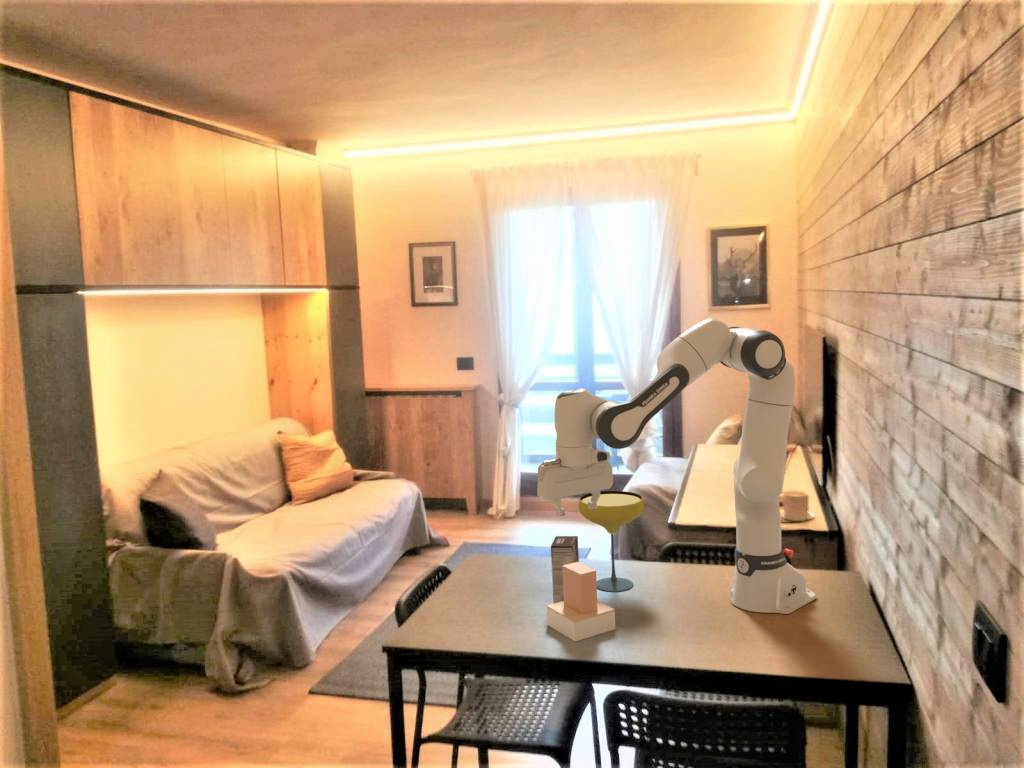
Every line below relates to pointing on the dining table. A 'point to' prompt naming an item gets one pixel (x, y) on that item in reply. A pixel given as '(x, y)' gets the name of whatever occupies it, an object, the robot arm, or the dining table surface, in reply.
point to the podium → (580, 620)
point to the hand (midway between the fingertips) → (576, 512)
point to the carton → (579, 587)
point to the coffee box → (562, 561)
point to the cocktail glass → (613, 525)
